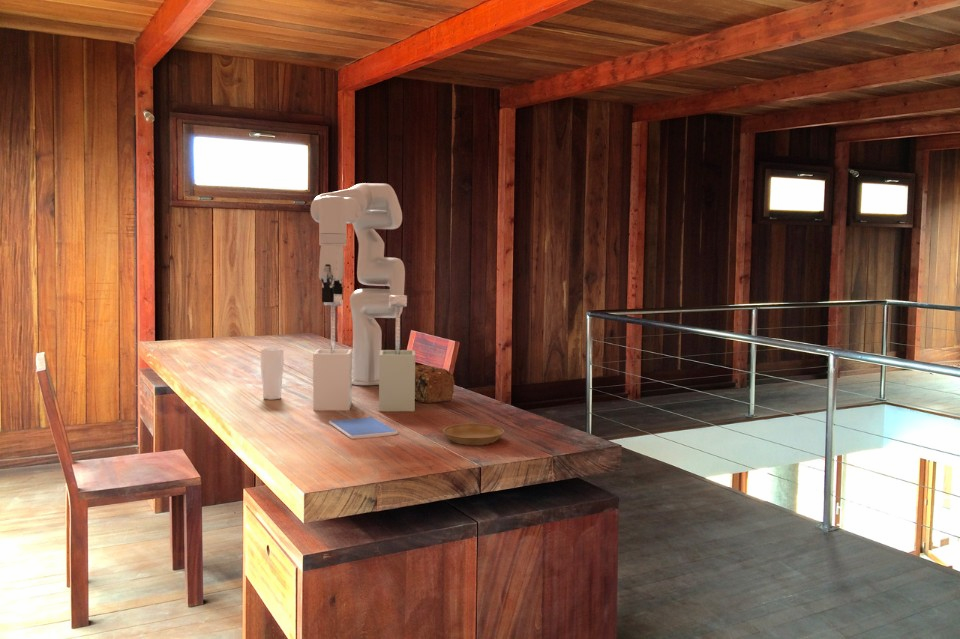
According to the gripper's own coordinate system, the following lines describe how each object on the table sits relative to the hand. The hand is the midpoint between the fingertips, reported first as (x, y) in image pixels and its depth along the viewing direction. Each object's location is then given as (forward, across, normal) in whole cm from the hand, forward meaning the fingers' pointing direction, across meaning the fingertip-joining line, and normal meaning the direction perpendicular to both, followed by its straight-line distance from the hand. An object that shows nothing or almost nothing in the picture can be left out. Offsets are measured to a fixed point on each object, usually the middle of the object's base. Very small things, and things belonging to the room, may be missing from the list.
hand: (332, 301), depth 229 cm
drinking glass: (+31, -9, -21) cm, 38 cm away
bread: (+31, -19, +24) cm, 43 cm away
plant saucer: (+31, +31, +44) cm, 62 cm away
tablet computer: (+32, +24, +14) cm, 42 cm away
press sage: (+30, -2, +18) cm, 36 cm away
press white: (+31, -1, 0) cm, 31 cm away
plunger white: (+19, 0, 0) cm, 19 cm away
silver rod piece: (+19, -2, +18) cm, 26 cm away
